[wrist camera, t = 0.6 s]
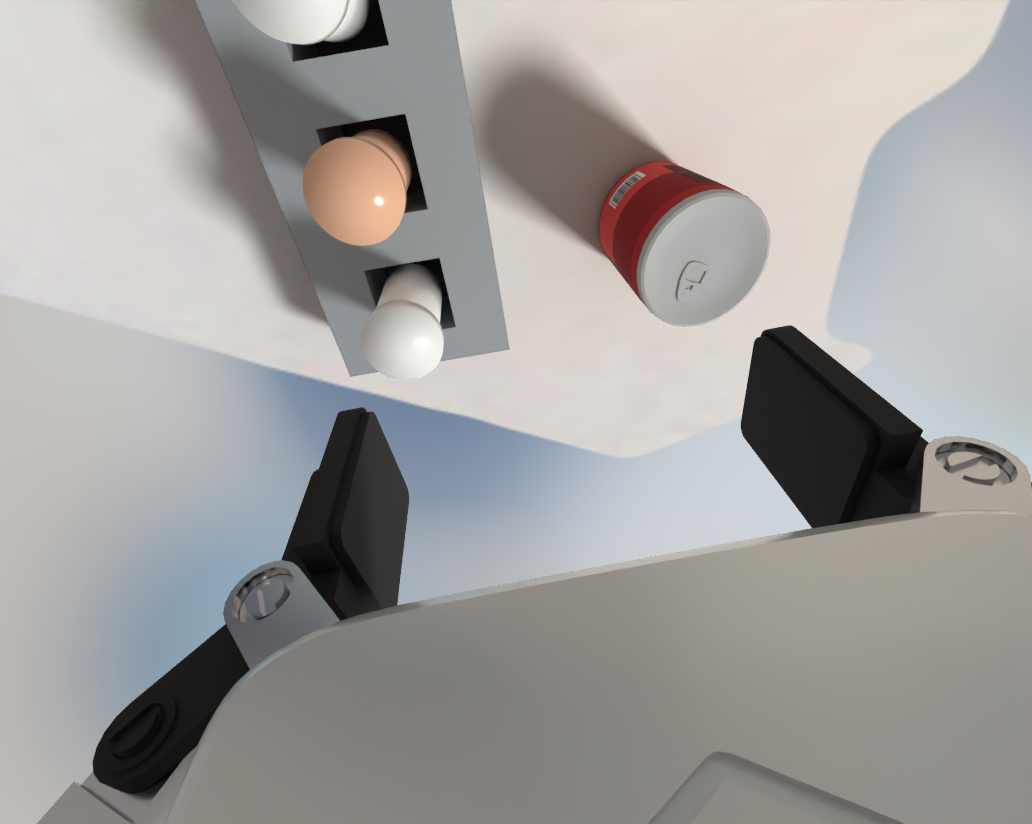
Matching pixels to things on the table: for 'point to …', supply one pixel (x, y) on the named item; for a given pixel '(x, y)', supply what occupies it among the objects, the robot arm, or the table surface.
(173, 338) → the table surface
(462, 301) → the socket board
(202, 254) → the table surface
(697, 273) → the canned food
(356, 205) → the plug terracotta
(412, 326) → the grey plug
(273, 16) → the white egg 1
